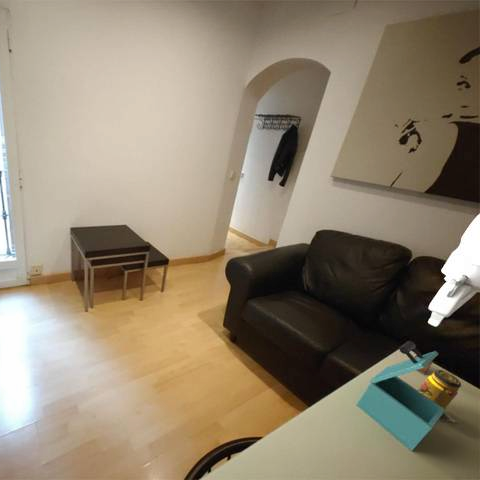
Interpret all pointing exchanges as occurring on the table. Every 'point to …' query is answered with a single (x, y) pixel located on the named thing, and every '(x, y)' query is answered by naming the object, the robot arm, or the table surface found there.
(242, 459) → the table surface
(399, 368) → the teal box lid
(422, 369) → the block
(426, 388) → the condiment
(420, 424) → the teal hinged box
